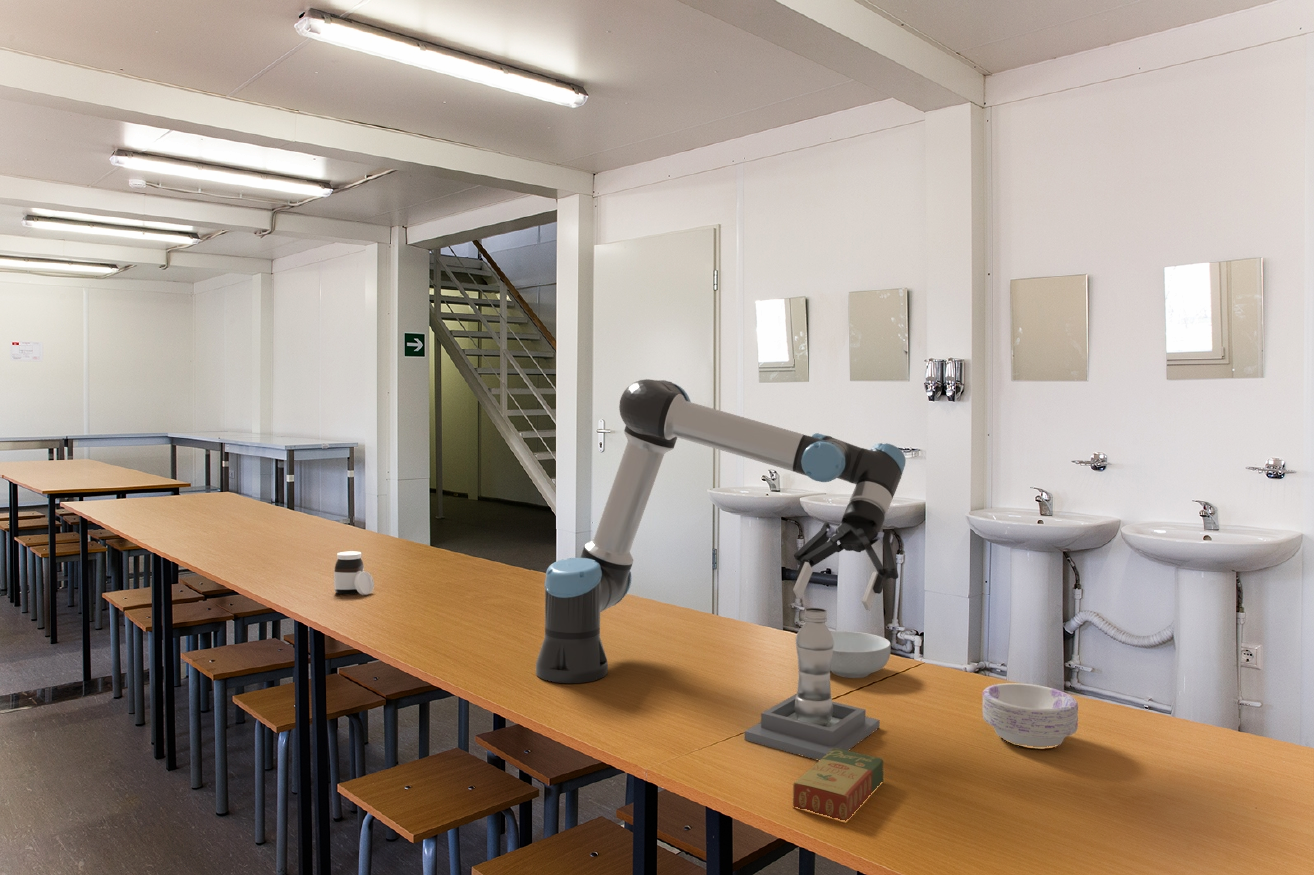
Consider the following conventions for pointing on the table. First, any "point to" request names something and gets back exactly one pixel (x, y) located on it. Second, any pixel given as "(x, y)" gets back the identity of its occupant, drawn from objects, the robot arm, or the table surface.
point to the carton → (838, 783)
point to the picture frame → (811, 730)
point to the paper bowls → (1030, 713)
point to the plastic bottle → (814, 669)
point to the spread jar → (351, 574)
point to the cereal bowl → (858, 653)
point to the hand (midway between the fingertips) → (830, 600)
